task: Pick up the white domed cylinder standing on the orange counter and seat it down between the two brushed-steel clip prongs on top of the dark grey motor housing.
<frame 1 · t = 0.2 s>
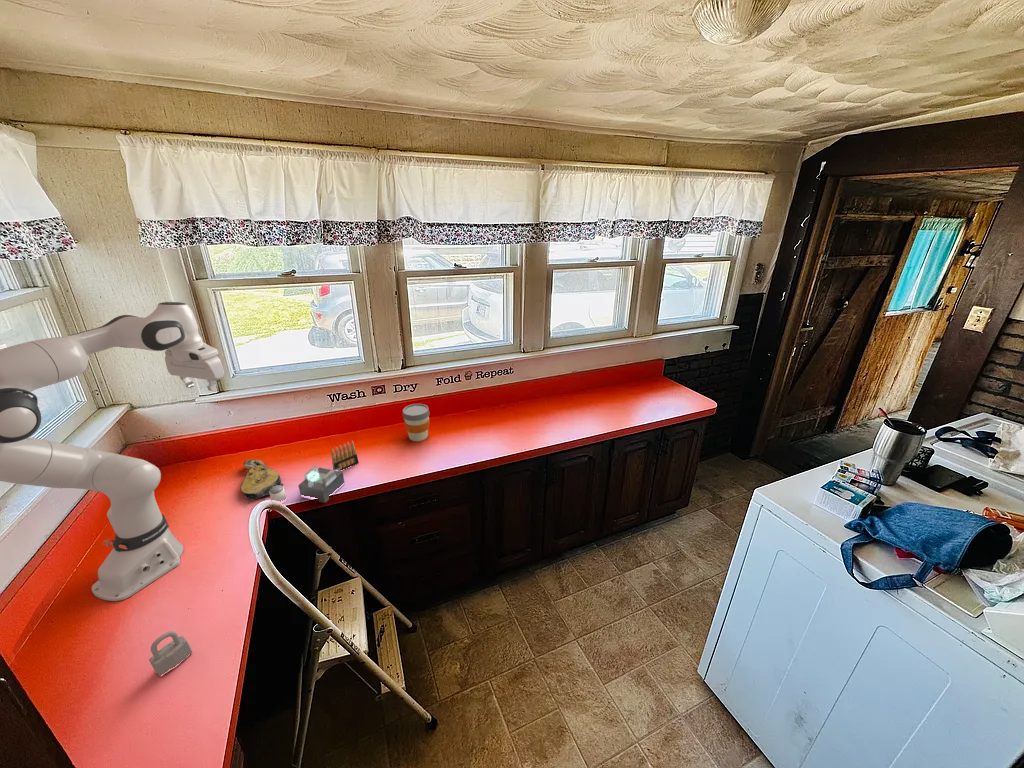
hand: (201, 388, 141), 47 cm above the worktop, fingers open, 8 cm apart
white domed cylinder: (279, 501, 159), on the worktop
ammunition clip: (346, 468, 179), on the worktop
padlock: (175, 662, 104), on the worktop
pulley block: (261, 481, 170), on the worktop
reusable coffee cup: (418, 436, 203), on the worktop
motor: (323, 490, 165), on the worktop
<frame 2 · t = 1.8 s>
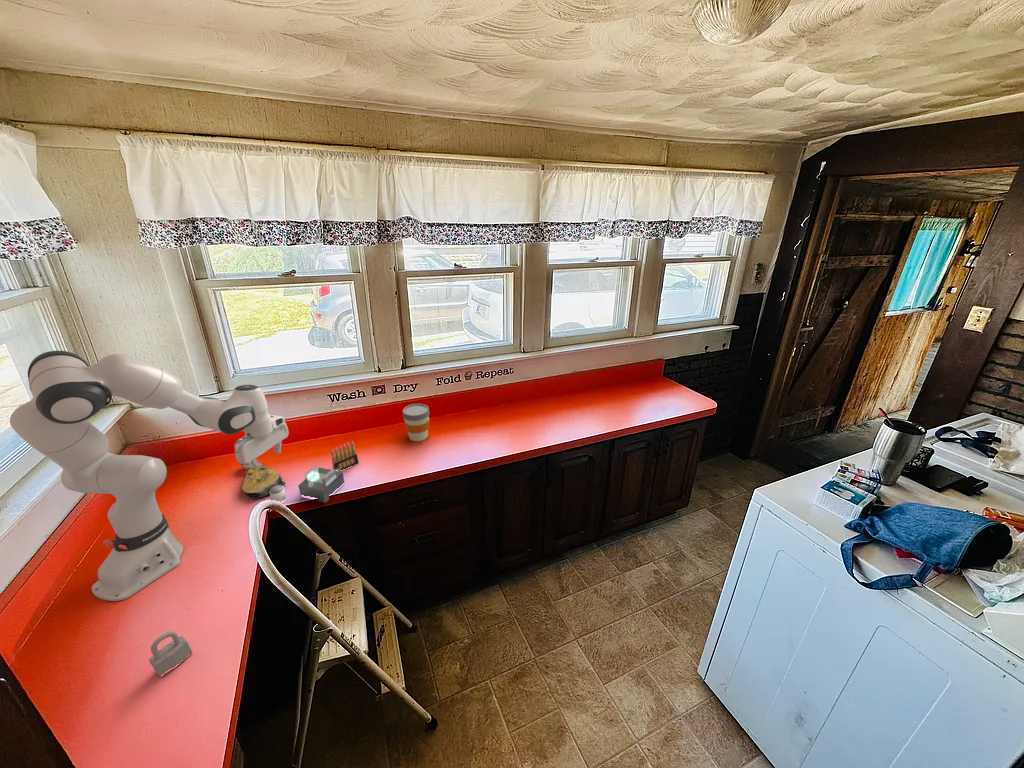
hand: (268, 459, 151), 19 cm above the worktop, fingers open, 8 cm apart
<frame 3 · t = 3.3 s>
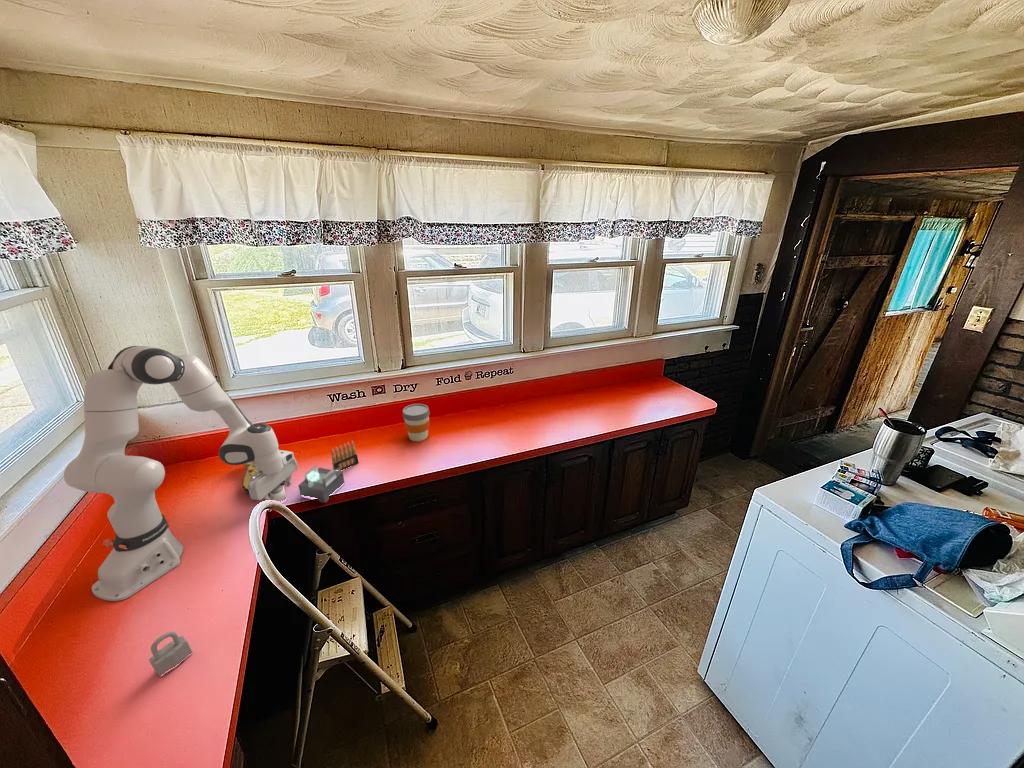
hand: (279, 493, 158), 3 cm above the worktop, fingers open, 8 cm apart
pulley block: (260, 479, 170), point 1 cm above the worktop, touching gripper
everything else where it was.
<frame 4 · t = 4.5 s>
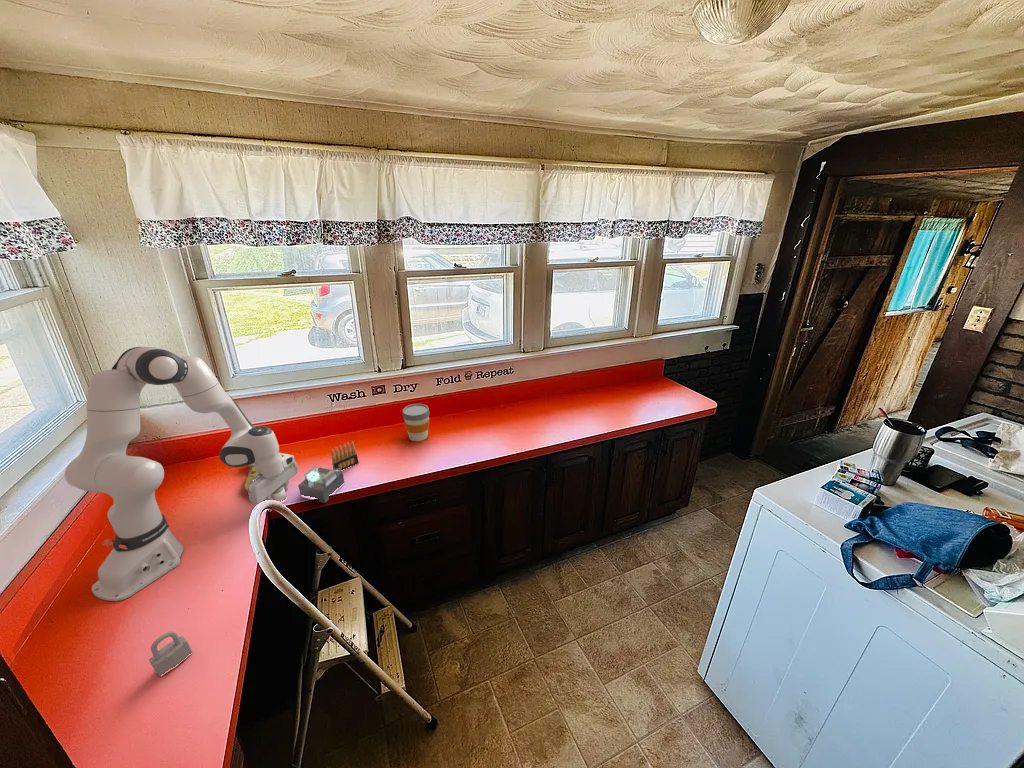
hand: (278, 496, 158), 2 cm above the worktop, fingers closed on white domed cylinder, 5 cm apart
white domed cylinder: (279, 501, 159), on the worktop, touching gripper
pulley block: (263, 480, 171), on the worktop
everything else where it was.
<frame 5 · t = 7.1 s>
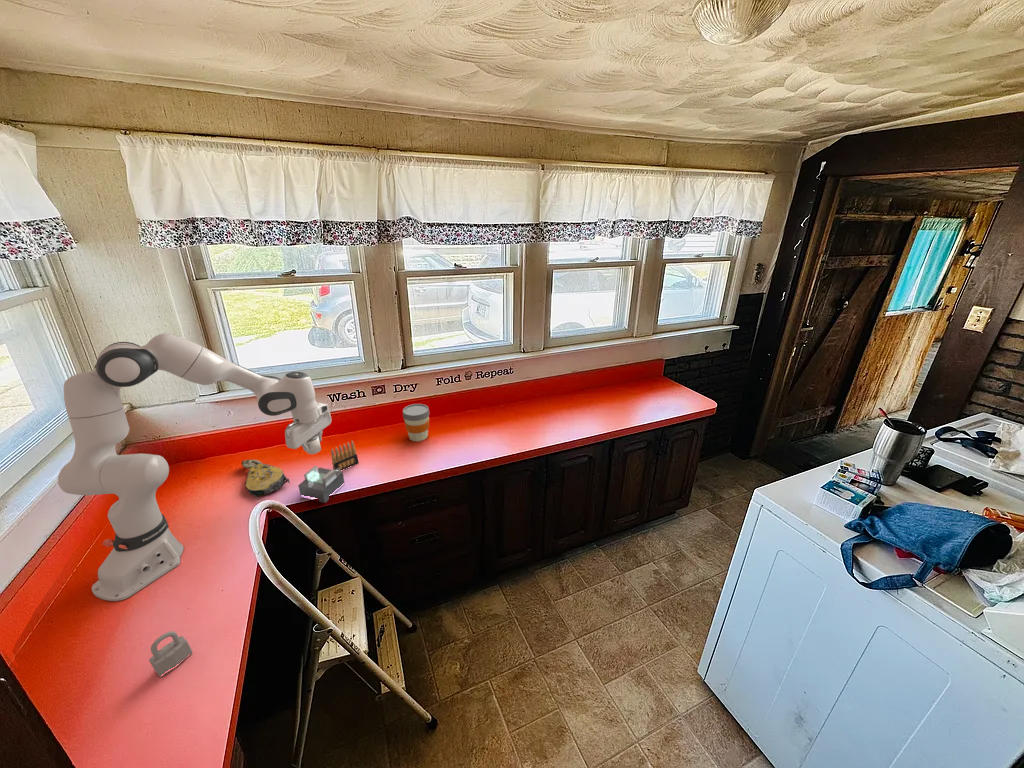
hand: (313, 445, 156), 21 cm above the worktop, fingers closed on white domed cylinder, 5 cm apart
white domed cylinder: (314, 450, 157), point 19 cm above the worktop, touching gripper
when the fingers open (9 cm above the worktop, at t = 10.1 s): white domed cylinder stays where it is, resting on motor.
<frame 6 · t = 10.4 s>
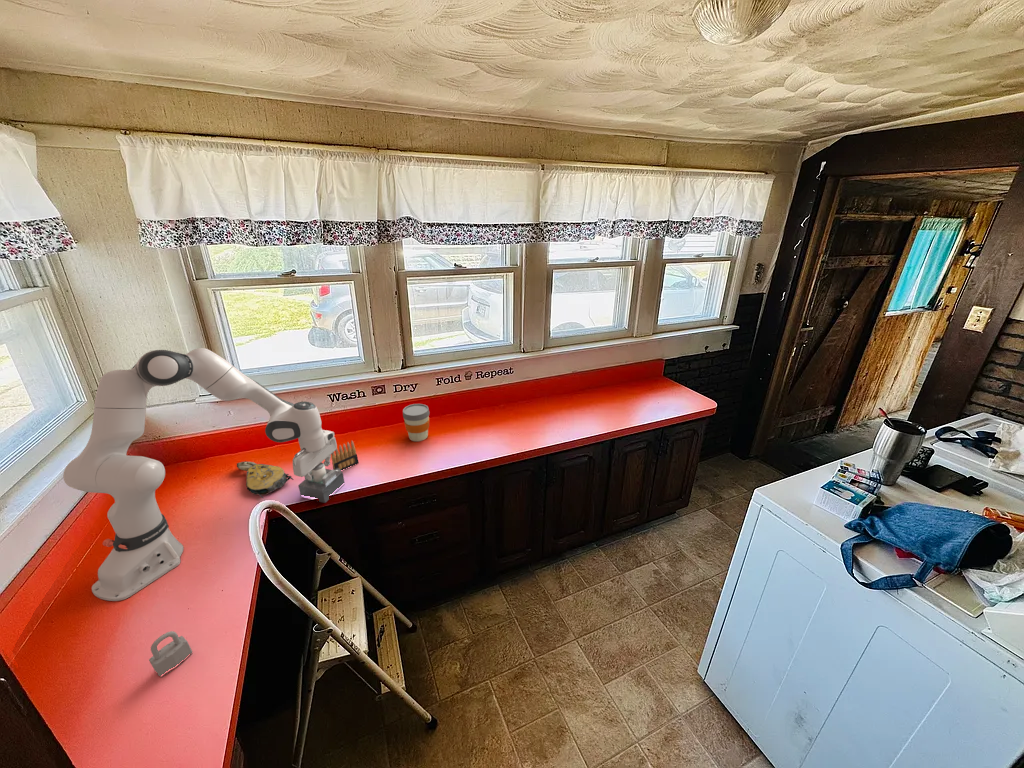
hand: (319, 472, 161), 9 cm above the worktop, fingers open, 8 cm apart
white domed cylinder: (320, 478, 162), point 6 cm above the worktop, touching motor
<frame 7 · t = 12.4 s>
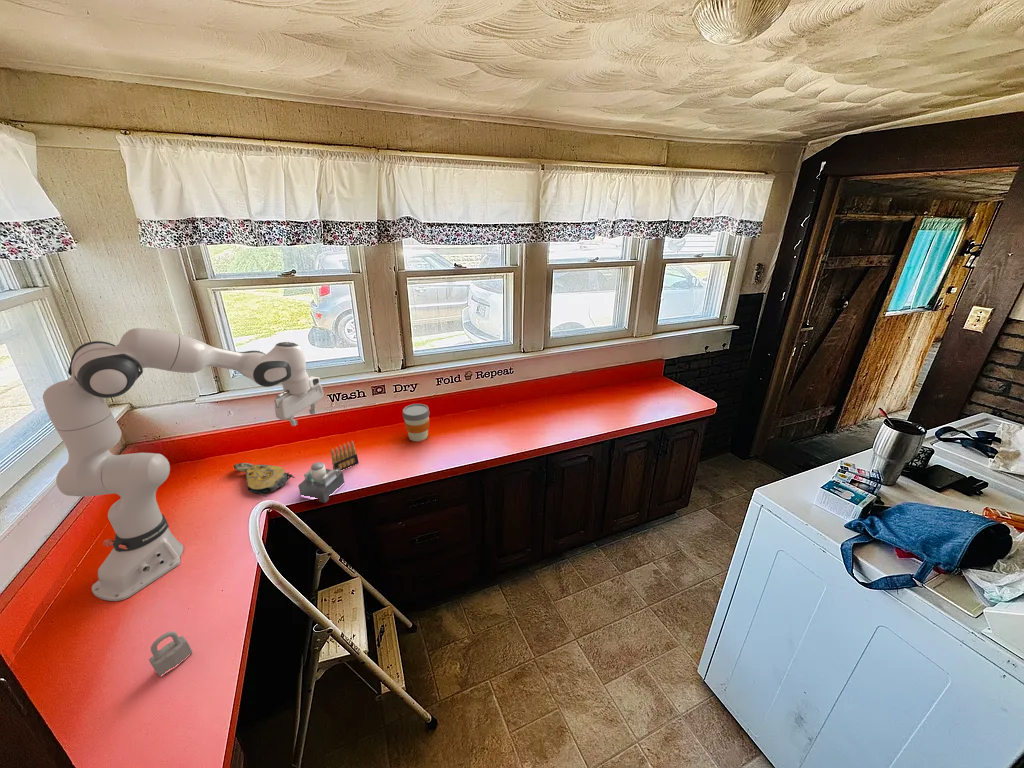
hand: (304, 419, 155), 31 cm above the worktop, fingers open, 8 cm apart
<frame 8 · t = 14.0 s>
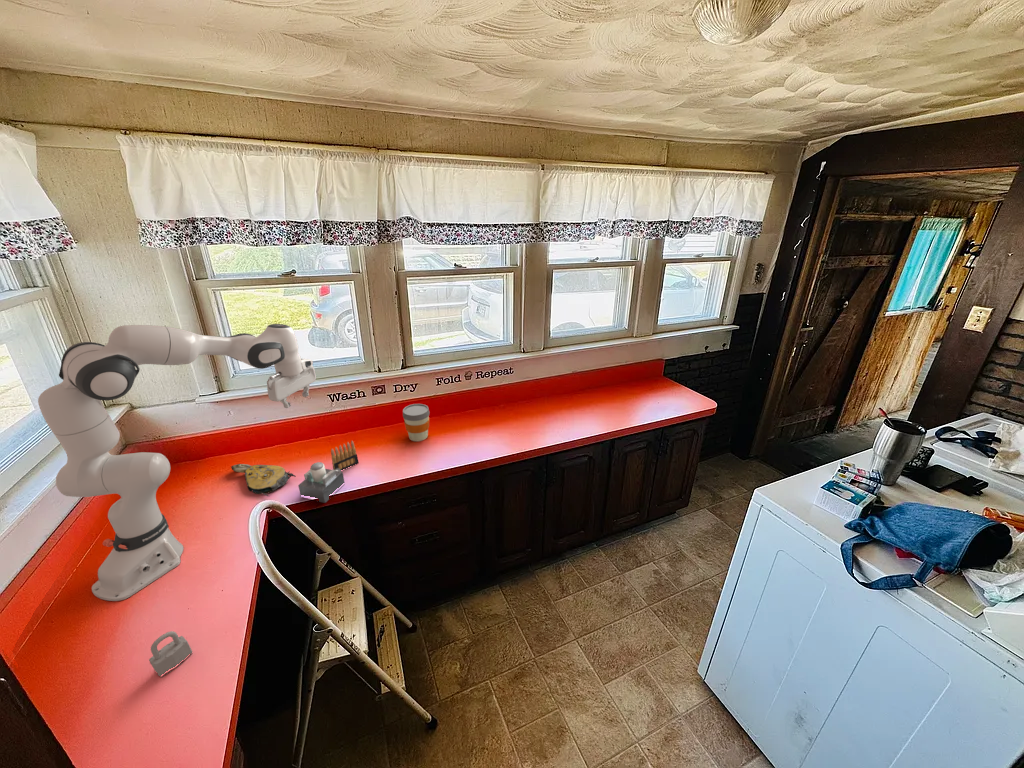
hand: (297, 401, 155), 37 cm above the worktop, fingers open, 8 cm apart
at the end: white domed cylinder 0.2 cm off-centre on the motor, point 6.3 cm above the motor's base; white domed cylinder tilted 1°; the gripper is holding nothing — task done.
